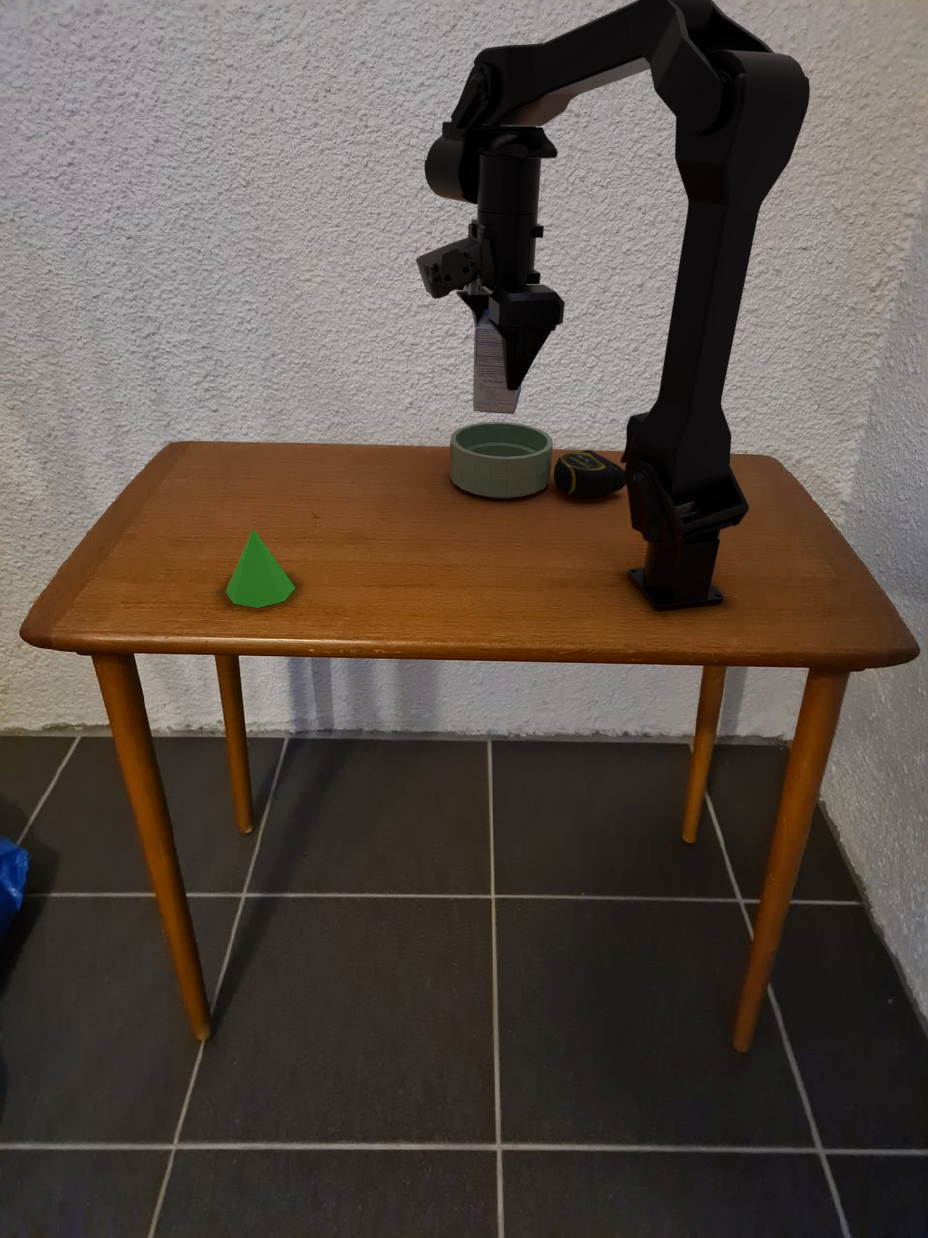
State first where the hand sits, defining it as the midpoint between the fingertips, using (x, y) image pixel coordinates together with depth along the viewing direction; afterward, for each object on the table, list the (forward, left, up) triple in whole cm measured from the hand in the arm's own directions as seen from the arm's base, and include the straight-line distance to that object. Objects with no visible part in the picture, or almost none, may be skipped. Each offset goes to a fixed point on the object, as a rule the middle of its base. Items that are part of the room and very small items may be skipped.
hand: (499, 376), depth 86 cm
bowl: (+1, -1, -12) cm, 12 cm away
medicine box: (0, 0, -3) cm, 3 cm away
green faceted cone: (-18, +26, -12) cm, 34 cm away
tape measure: (-3, -10, -12) cm, 16 cm away
